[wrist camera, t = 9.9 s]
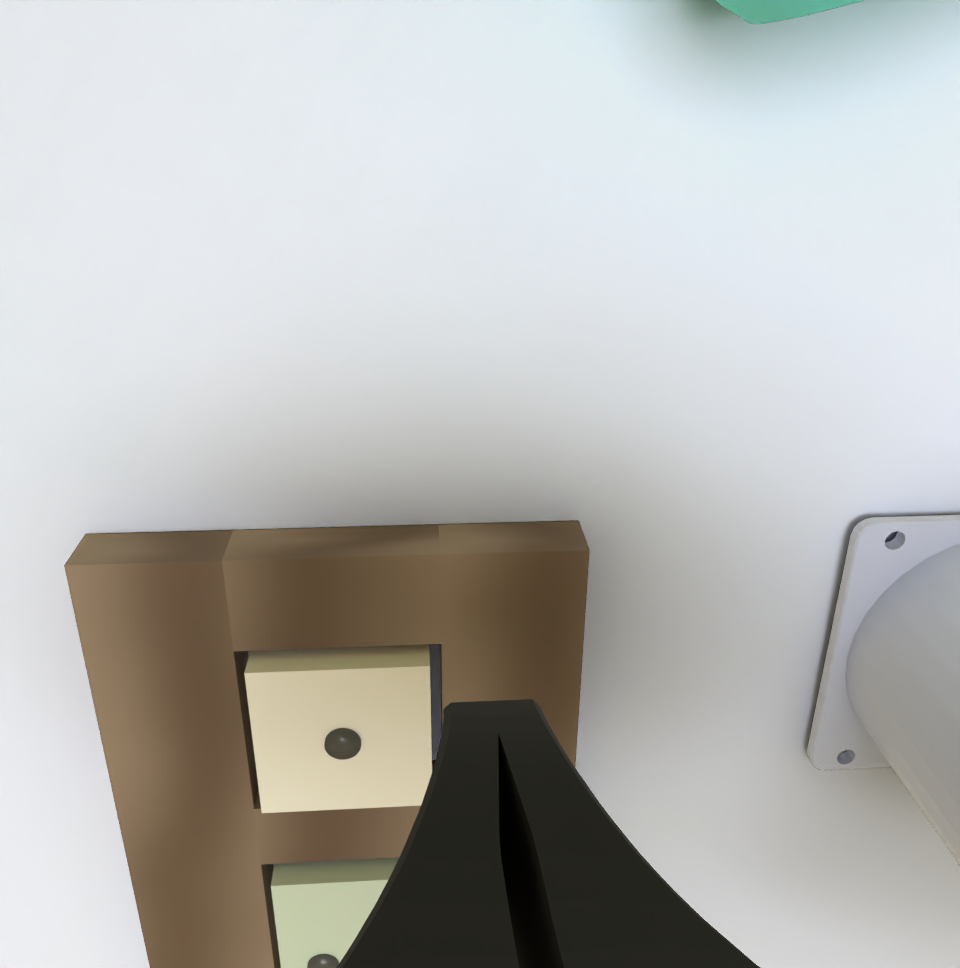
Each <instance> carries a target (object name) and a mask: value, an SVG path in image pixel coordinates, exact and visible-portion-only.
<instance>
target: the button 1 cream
mask: <svg viewBox="0 0 960 968" xmlns="http://www.w3.org/2000/svg"><path fill="white" fill-rule="evenodd" d="M244 675H245V683H246V691H247V699H248V707H249V715H250V723H251V731H252V739H253V747H254V755H255V763H256V771H257V779H258V787H259V795H260V804H261V812H262V813H277V812H298V811H319V810H339V809H360V808H380V807H401V806H421V804H422V802H423V799H424V796H425V793H426V790H427V787H428V783H429V780H430V777H431V774H432V742H431V691H430V653H429V644H425V645H398V646H370V647H343V648H315V649H288V650H260V651H250V654H249V657H248V661H247V665H246V669H245V672H244Z"/></svg>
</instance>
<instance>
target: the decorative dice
mask: <svg viewBox="0 0 960 968" xmlns="http://www.w3.org/2000/svg"><path fill="white" fill-rule="evenodd" d="M716 1H717V2H718V3H719V4H720V5H721V6H723V7H724V8H726V9H728V10H729V11H731V12H732V13H734V14H736V15H737V16H739V17H740V18H742V19H744V20H745V21H747V22H749V23H751V24H764V23H771V22H776V21H782V20H787V19H792V18H796V17H801V16H805V15H809V14H814V13H818V12H822V11H826V10H830V9H833V8H837V7H841V6H845V5H849V4H852V3H856V2H860V1H863V0H716Z"/></svg>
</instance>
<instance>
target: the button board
mask: <svg viewBox="0 0 960 968" xmlns="http://www.w3.org/2000/svg"><path fill="white" fill-rule="evenodd" d="M588 564H589V547H588V545H587V542H586V539H585V537H584V534H583V531H582V529H581V526H580V523H579V521H553V522H516V523H479V524H443V525H406V526H369V527H333V528H296V529H259V530H223V531H186V532H149V533H113V534H85V536H84V537H83V539H82V540H81V542H80V543H79V545H78V546H77V548H76V549H75V551H74V552H73V553H72V555H71V556H70V558H69V559H68V561H67V562H66V564H65V565H64V566H65V571H66V576H67V580H68V585H69V590H70V594H71V599H72V604H73V608H74V613H75V618H76V623H77V627H78V632H79V637H80V641H81V646H82V651H83V655H84V660H85V665H86V669H87V674H88V679H89V684H90V688H91V693H92V698H93V702H94V707H95V712H96V716H97V721H98V726H99V730H100V735H101V740H102V745H103V749H104V754H105V759H106V763H107V768H108V773H109V777H110V782H111V787H112V791H113V796H114V801H115V806H116V810H117V815H118V820H119V824H120V829H121V834H122V838H123V843H124V848H125V852H126V857H127V862H128V867H129V871H130V876H131V881H132V885H133V890H134V895H135V899H136V904H137V909H138V913H139V918H140V923H141V928H142V932H143V937H144V942H145V946H146V951H147V956H148V960H149V965H150V968H281V964H280V956H279V948H278V940H277V932H276V924H275V916H274V908H273V900H272V892H271V882H272V876H273V870H274V864H281V863H300V862H319V861H338V860H357V859H376V858H395V857H400V855H401V853H402V850H403V848H404V846H405V843H406V841H407V839H408V836H409V834H410V831H411V829H412V827H413V824H414V822H415V820H416V817H417V815H418V812H419V810H420V807H421V806H401V807H380V808H360V809H339V810H319V811H298V812H277V813H262V812H261V804H260V795H259V787H258V779H257V771H256V763H255V755H254V747H253V739H252V731H251V723H250V715H249V707H248V699H247V691H246V683H245V675H244V672H245V669H246V665H247V661H248V651H260V650H288V649H315V648H343V647H370V646H398V645H425V644H440V671H441V735H442V728H443V709H444V708H445V707H446V706H447V705H449V704H450V703H451V702H475V701H499V700H524V699H533V700H534V701H535V702H536V703H537V704H538V705H539V706H540V708H541V710H542V712H543V714H544V716H545V718H546V720H547V722H548V724H549V726H550V727H551V729H552V731H553V733H554V735H555V736H556V738H557V740H558V741H559V743H560V745H561V746H562V748H563V750H564V751H565V753H566V754H567V756H568V758H569V759H570V761H571V762H572V764H573V765H574V767H575V761H576V746H577V731H578V716H579V700H580V685H581V670H582V655H583V640H584V625H585V609H586V594H587V579H588ZM434 765H435V761H432V771H433V768H434Z"/></svg>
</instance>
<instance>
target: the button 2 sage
mask: <svg viewBox="0 0 960 968" xmlns="http://www.w3.org/2000/svg"><path fill="white" fill-rule="evenodd" d="M398 859H399V857H395V858H376V859H357V860H338V861H319V862H300V863H281V864H274V870H273V876H272V882H271V892H272V900H273V908H274V916H275V924H276V932H277V940H278V948H279V956H280V964H281V968H336V967H337V966H338V965H339V963H340V962H341V960H342V959H343V957H344V955H345V954H346V952H347V951H348V949H349V948H350V946H351V945H352V943H353V941H354V940H355V938H356V936H357V935H358V933H359V931H360V930H361V928H362V926H363V925H364V923H365V921H366V919H367V918H368V916H369V914H370V913H371V911H372V909H373V908H374V906H375V904H376V902H377V900H378V899H379V897H380V895H381V893H382V891H383V889H384V887H385V885H386V883H387V882H388V880H389V878H390V876H391V874H392V872H393V870H394V867H395V865H396V863H397V861H398Z"/></svg>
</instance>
